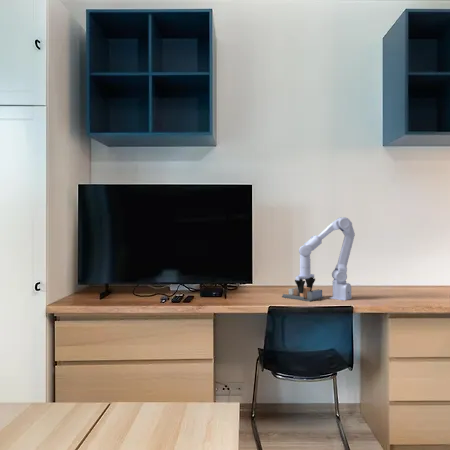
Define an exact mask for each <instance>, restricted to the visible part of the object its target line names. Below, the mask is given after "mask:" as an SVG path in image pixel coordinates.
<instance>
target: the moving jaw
mask: <svg viewBox="0 0 450 450" xmlns="http://www.w3.org/2000/svg"><path fill="white" fill-rule="evenodd" d="M288 295H295V296H298V295H300V293H299V290H298V287H297V286H296V287H292V288H288Z"/></svg>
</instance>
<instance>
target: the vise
mask: <svg viewBox="0 0 450 450" xmlns="http://www.w3.org/2000/svg"><path fill="white" fill-rule="evenodd" d="M281 298H283V299H290V300H297V301H305V302H314V301H319V300H323V299H324V298H325V297H324V296H323V289H319V288H318V289H313V290H311V291H308V292H307V298H305V297H302V296H300V295H298V296H295V295H289V293H288V294H285V293H283V294H282V295H281Z"/></svg>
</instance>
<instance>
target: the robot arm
mask: <svg viewBox="0 0 450 450" xmlns="http://www.w3.org/2000/svg"><path fill="white" fill-rule="evenodd" d="M327 225H328V226H325V228H324V229H323V230H322V231H321V232H320V233H319V234H318V235H312V236H310V238H309V239H308V240H307V241H306V242H304V243H303V245H301V246H300V247H299V249H298V253H299V274H298V275H296V276H295V279H294V282H295V284H296V287H298V290H299V293H303V291H304V287H305V284H306V287H310V291H312V289H313V287H314V283H315V281H316V278H315V274H314V273H311V254H312V251H315V250H316V249H317V248H318V247H319V246H320V245H321V244H322V241H323V240H324V239H325V238H326V237H327V236H329V235H330V234H331V233H332V232H333V231H337V230H339V231H341V232H342V234H343V235H344V237H343V242H342V245H341V249H340V252H339V256H338V260H337V264H336V265H335V267H334V269H333V271H332V273H331V276H332V279H333V280H332V296H331V297H329V299H331V300H338V301H348V300H351V299H353V297H352V285H351V283H349V282H347V281H346V280H347V279H348V274H347V273H348V267H347V266H348V262H349V258H350V255H351V252H352V251H351V250H352V247H353V243H354V239H355V235H356V234H355V229H354V227H353V222H352V221H351V220H350V218H348V217H346V216H343V217H342V216H341V217H340V216H339V217H337V218H336V219H335V220H333V221H332V222H330V223H329V224H327Z"/></svg>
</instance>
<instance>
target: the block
mask: <svg viewBox="0 0 450 450" xmlns="http://www.w3.org/2000/svg"><path fill="white" fill-rule="evenodd" d="M308 291H310V287H307V286H304V291H303V293H300V296H302V297H305V298H307V292H308Z"/></svg>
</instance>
